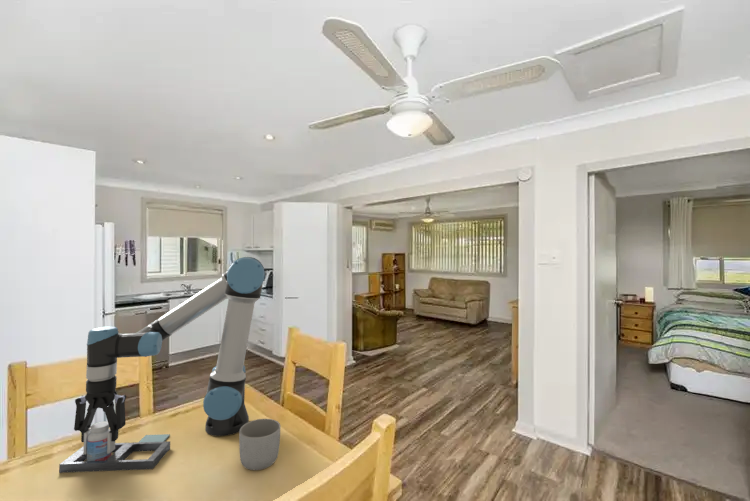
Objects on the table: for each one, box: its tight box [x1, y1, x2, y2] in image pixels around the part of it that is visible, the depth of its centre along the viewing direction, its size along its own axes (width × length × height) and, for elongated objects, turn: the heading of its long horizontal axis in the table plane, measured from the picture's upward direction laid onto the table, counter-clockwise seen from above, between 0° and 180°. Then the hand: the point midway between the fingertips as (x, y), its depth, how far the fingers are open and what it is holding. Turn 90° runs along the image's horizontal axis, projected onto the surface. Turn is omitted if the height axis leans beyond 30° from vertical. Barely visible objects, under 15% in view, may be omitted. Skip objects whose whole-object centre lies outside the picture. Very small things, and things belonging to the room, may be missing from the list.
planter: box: [238, 418, 281, 471], centre depth 110 cm, size 12×12×11 cm
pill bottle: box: [86, 421, 112, 461], centre depth 109 cm, size 6×6×11 cm
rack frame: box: [58, 440, 171, 474], centre depth 110 cm, size 26×11×2 cm, turn 96°
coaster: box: [138, 433, 171, 442], centre depth 120 cm, size 8×8×1 cm
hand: (99, 451), depth 109 cm, fingers closed on pill bottle, 6 cm apart
